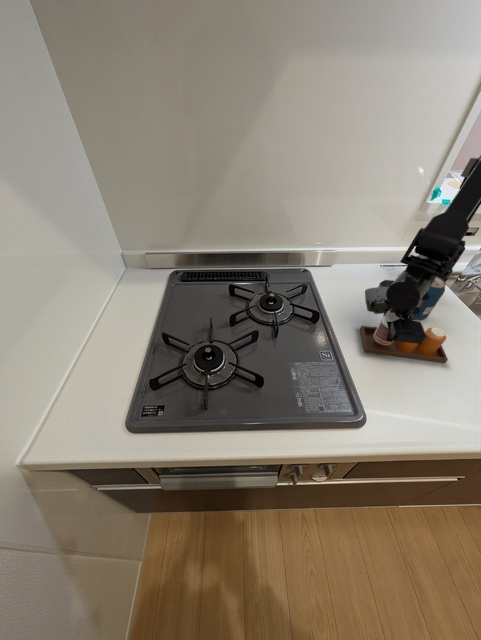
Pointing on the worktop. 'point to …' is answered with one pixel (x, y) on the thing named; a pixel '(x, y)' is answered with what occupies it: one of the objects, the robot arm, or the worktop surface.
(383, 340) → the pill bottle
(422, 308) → the soda can
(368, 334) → the tray
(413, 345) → the amber bottle middle
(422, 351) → the amber bottle back
